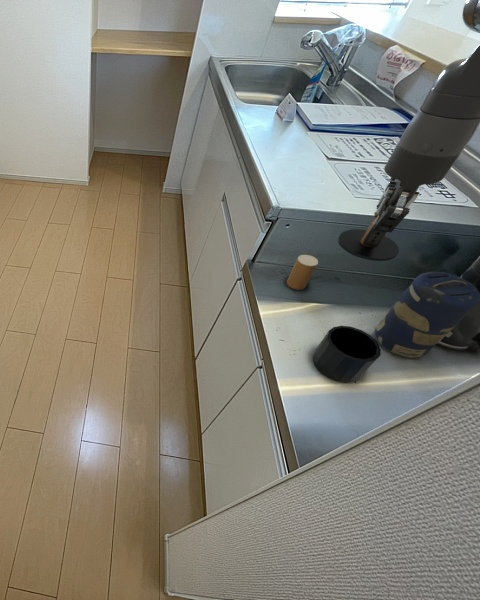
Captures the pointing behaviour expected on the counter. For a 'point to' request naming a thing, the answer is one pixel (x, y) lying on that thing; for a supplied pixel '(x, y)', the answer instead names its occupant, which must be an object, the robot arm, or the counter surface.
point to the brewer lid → (355, 246)
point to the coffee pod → (302, 272)
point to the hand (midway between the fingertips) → (370, 240)
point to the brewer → (346, 354)
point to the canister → (426, 313)
